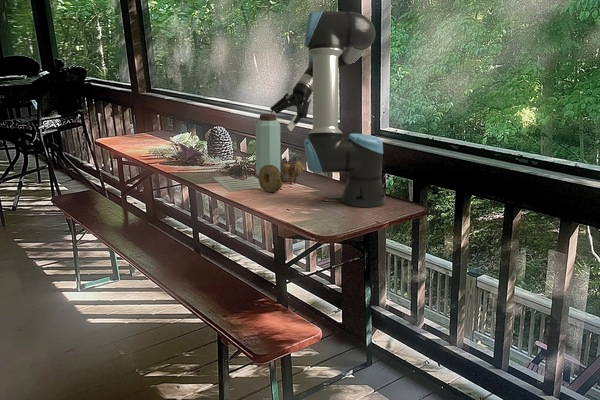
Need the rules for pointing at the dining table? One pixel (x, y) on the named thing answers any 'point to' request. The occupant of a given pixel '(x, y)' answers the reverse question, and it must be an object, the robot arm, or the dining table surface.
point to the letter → (238, 183)
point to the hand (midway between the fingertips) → (277, 127)
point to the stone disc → (270, 178)
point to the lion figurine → (292, 171)
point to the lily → (189, 153)
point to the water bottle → (267, 142)
